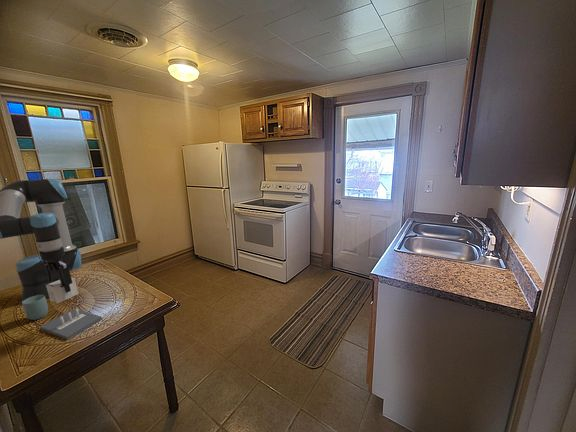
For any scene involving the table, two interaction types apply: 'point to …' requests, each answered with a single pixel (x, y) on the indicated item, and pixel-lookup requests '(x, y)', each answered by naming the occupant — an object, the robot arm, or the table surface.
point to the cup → (35, 307)
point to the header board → (70, 323)
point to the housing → (60, 290)
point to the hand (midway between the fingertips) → (64, 296)
